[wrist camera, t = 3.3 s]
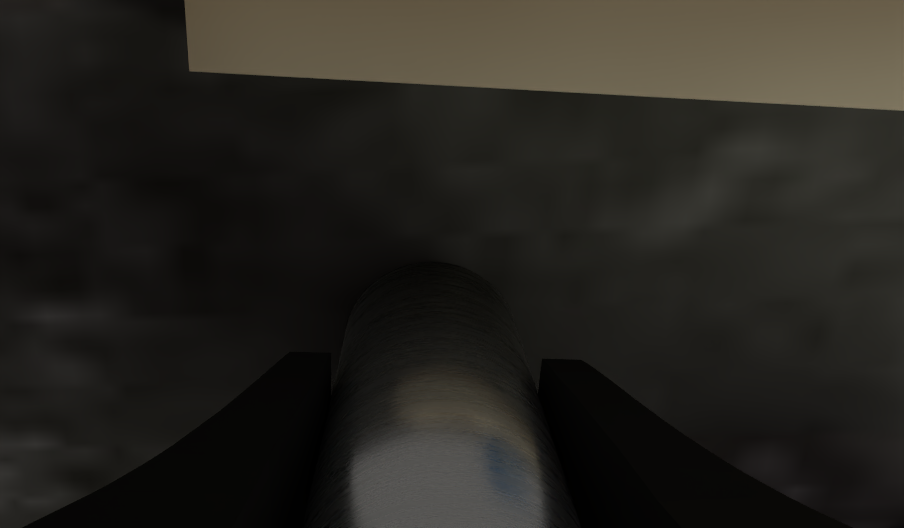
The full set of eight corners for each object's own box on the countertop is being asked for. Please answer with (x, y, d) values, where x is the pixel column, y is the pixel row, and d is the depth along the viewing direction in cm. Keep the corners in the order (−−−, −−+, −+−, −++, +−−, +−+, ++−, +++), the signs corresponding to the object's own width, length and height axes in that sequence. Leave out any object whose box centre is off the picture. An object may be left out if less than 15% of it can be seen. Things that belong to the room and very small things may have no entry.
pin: (508, 418, 13) (598, 804, 7) (344, 414, 13) (275, 810, 7) (523, 266, 12) (648, 550, 6) (345, 258, 12) (263, 547, 6)
